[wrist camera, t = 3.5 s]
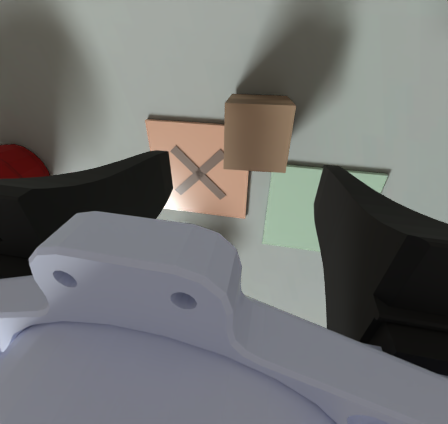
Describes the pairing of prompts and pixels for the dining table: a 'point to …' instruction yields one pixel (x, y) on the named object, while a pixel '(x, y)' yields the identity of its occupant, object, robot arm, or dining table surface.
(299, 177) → the tile
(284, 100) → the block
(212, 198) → the tile
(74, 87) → the dining table surface
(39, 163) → the plastic cup
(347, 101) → the dining table surface
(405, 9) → the dining table surface
